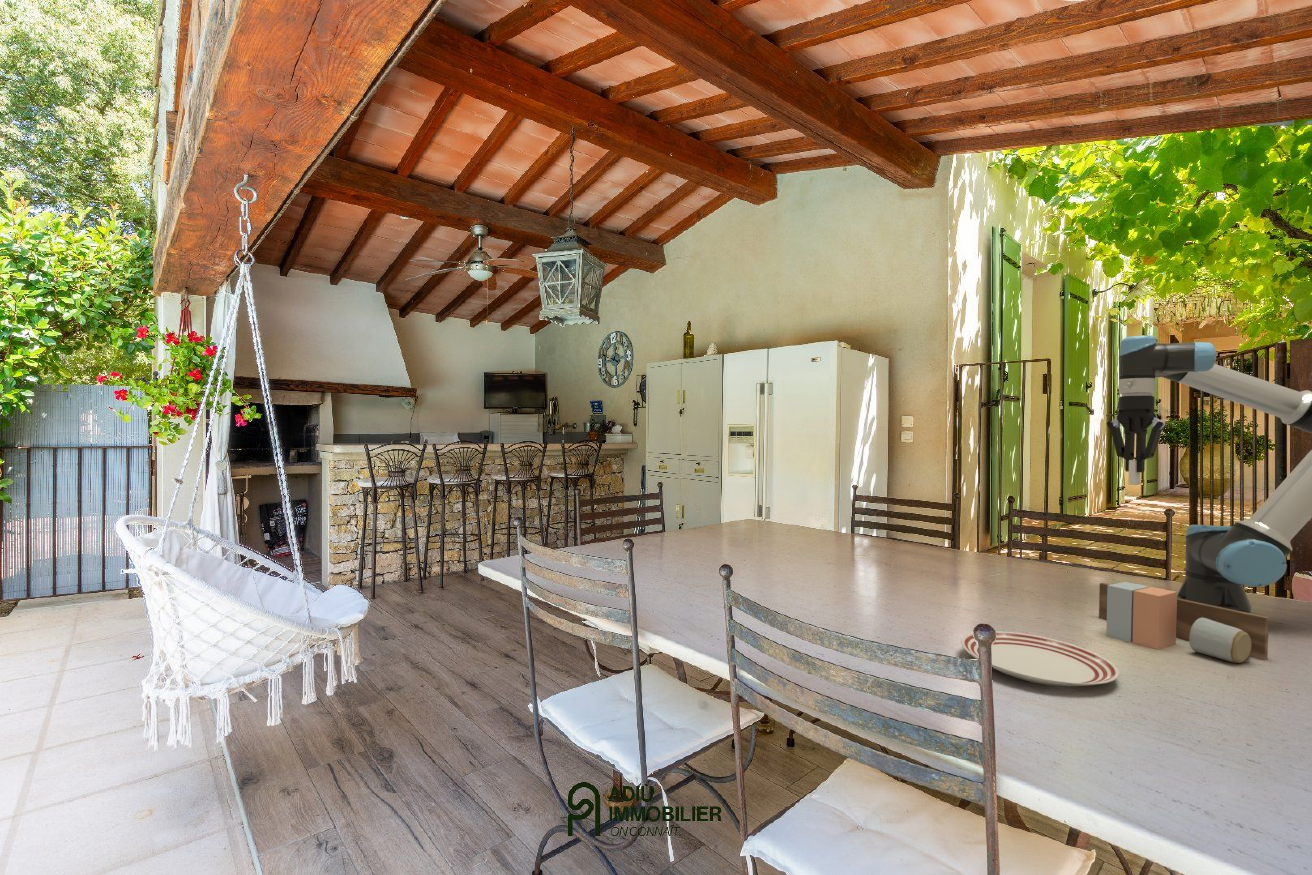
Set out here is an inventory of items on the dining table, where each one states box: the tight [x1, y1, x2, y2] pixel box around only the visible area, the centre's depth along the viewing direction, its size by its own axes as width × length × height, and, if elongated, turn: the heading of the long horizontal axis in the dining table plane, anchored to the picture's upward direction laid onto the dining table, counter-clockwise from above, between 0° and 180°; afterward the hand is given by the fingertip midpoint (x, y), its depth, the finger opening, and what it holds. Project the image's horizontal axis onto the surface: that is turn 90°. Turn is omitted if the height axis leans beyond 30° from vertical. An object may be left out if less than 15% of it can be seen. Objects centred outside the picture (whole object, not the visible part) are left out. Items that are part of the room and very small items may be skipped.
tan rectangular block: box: [1131, 586, 1178, 650], centre depth 140 cm, size 8×5×12 cm, turn 118°
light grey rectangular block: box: [1106, 581, 1151, 643], centre depth 145 cm, size 8×5×12 cm, turn 118°
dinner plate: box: [960, 630, 1120, 687], centre depth 126 cm, size 27×27×3 cm
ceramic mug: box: [1188, 618, 1251, 664], centre depth 133 cm, size 11×8×8 cm
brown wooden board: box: [1098, 582, 1270, 661], centre depth 145 cm, size 1×32×9 cm, turn 28°
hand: (1134, 484), depth 162 cm, fingers closed
